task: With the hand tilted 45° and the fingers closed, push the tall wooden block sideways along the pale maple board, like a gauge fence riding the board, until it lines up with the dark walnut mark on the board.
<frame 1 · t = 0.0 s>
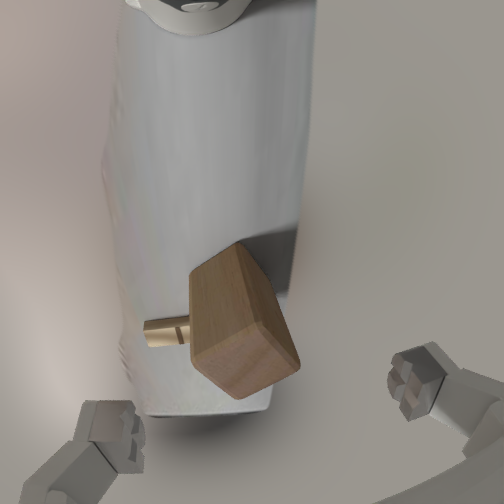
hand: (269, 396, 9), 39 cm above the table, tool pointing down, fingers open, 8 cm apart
maple board: (204, 323, 57), on the table
wooden block: (229, 275, 53), on the table
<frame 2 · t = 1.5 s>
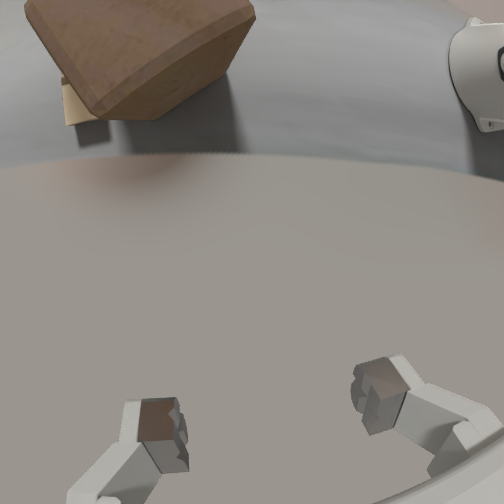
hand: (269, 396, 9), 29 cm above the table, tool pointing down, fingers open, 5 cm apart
maple board: (84, 35, 26), on the table
wooden block: (165, 62, 29), on the table
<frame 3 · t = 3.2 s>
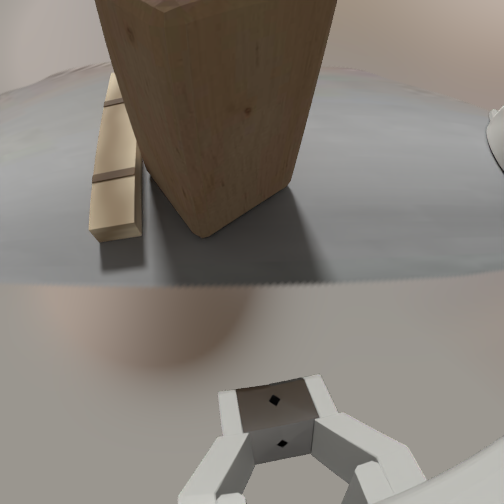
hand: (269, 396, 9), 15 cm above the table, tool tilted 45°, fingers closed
maple board: (124, 146, 30), on the table
wooden block: (216, 177, 29), on the table
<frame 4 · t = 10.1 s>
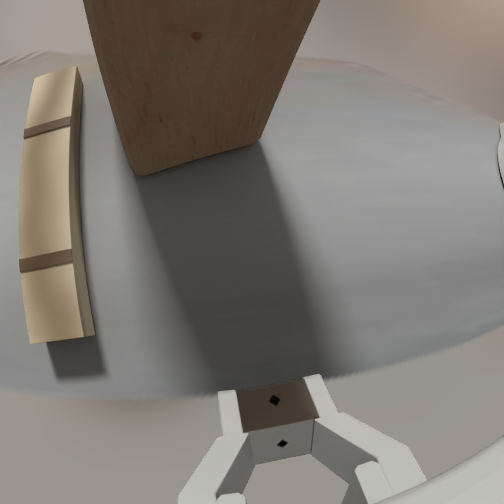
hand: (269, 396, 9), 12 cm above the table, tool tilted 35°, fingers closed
maple board: (55, 194, 21), on the table
wooden block: (181, 113, 24), on the table
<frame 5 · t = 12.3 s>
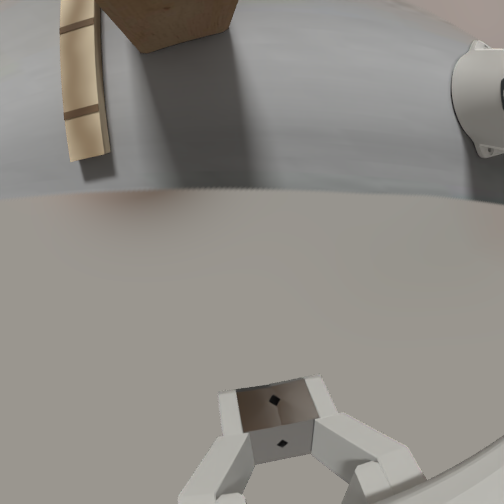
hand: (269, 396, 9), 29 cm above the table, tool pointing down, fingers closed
maple board: (85, 66, 27), on the table
wooden block: (175, 7, 27), on the table
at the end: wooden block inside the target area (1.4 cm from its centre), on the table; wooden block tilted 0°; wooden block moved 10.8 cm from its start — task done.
